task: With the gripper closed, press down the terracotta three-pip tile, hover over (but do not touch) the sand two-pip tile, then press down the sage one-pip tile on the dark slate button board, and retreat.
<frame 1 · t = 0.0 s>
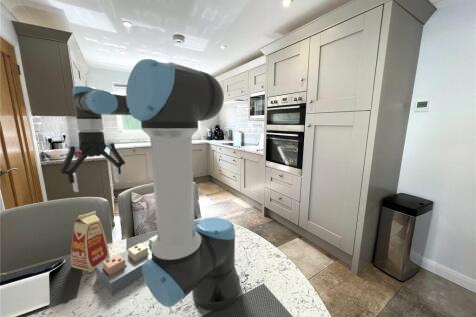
hand: (98, 186, 75), 28 cm above the table, fingers open, 13 cm apart
tile two: (138, 251, 71), point 6 cm above the table, slide at 0.0 cm
button board: (139, 265, 72), on the table
milk carton: (92, 261, 74), on the table
tile three: (114, 264, 65), point 6 cm above the table, slide at 0.0 cm
tile one: (158, 241, 78), point 6 cm above the table, slide at 0.0 cm
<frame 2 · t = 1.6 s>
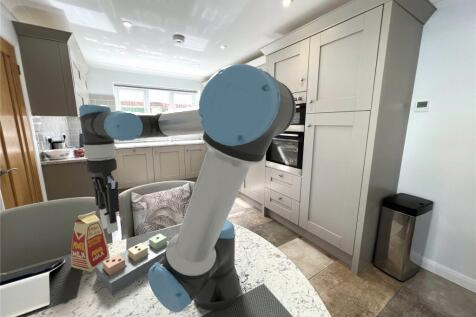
hand: (110, 229, 62), 19 cm above the table, fingers open, 4 cm apart
nothing on the table moved.
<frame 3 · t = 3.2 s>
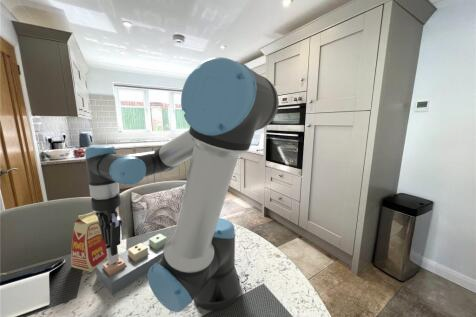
hand: (113, 261, 65), 7 cm above the table, fingers closed
tile three: (114, 267, 65), point 5 cm above the table, slide at 1.0 cm, touching gripper
everything else where it was.
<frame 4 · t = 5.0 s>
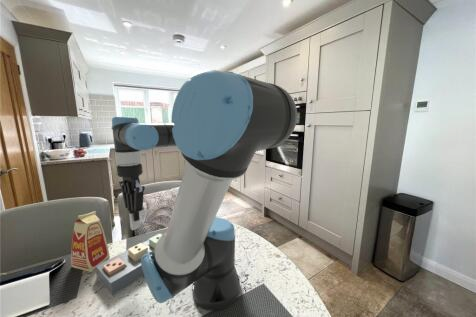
hand: (135, 227, 69), 15 cm above the table, fingers closed
tile three: (114, 268, 65), point 4 cm above the table, slide at 1.5 cm
everything else where it was.
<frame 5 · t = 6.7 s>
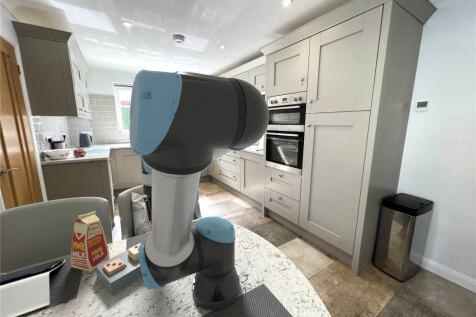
hand: (157, 239, 78), 7 cm above the table, fingers closed
tile one: (158, 243, 78), point 5 cm above the table, slide at 1.0 cm, touching gripper
everything else where it was.
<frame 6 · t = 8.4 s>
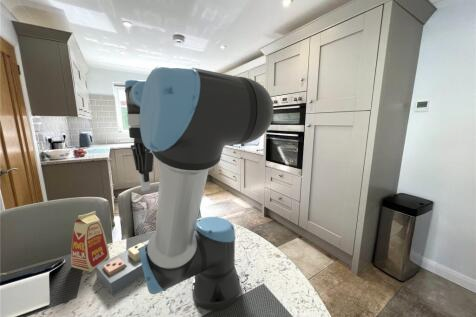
hand: (145, 189, 74), 27 cm above the table, fingers closed
tile one: (158, 244, 78), point 4 cm above the table, slide at 1.5 cm
everything else where it was.
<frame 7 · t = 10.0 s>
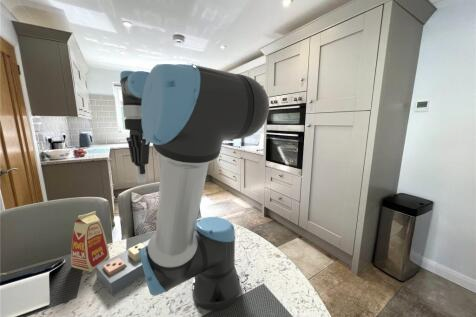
hand: (141, 181, 73), 30 cm above the table, fingers closed
nothing on the table moved.
at the end: tile three slide at 1.5 cm; tile one slide at 1.5 cm; tile two slide at 0.0 cm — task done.
